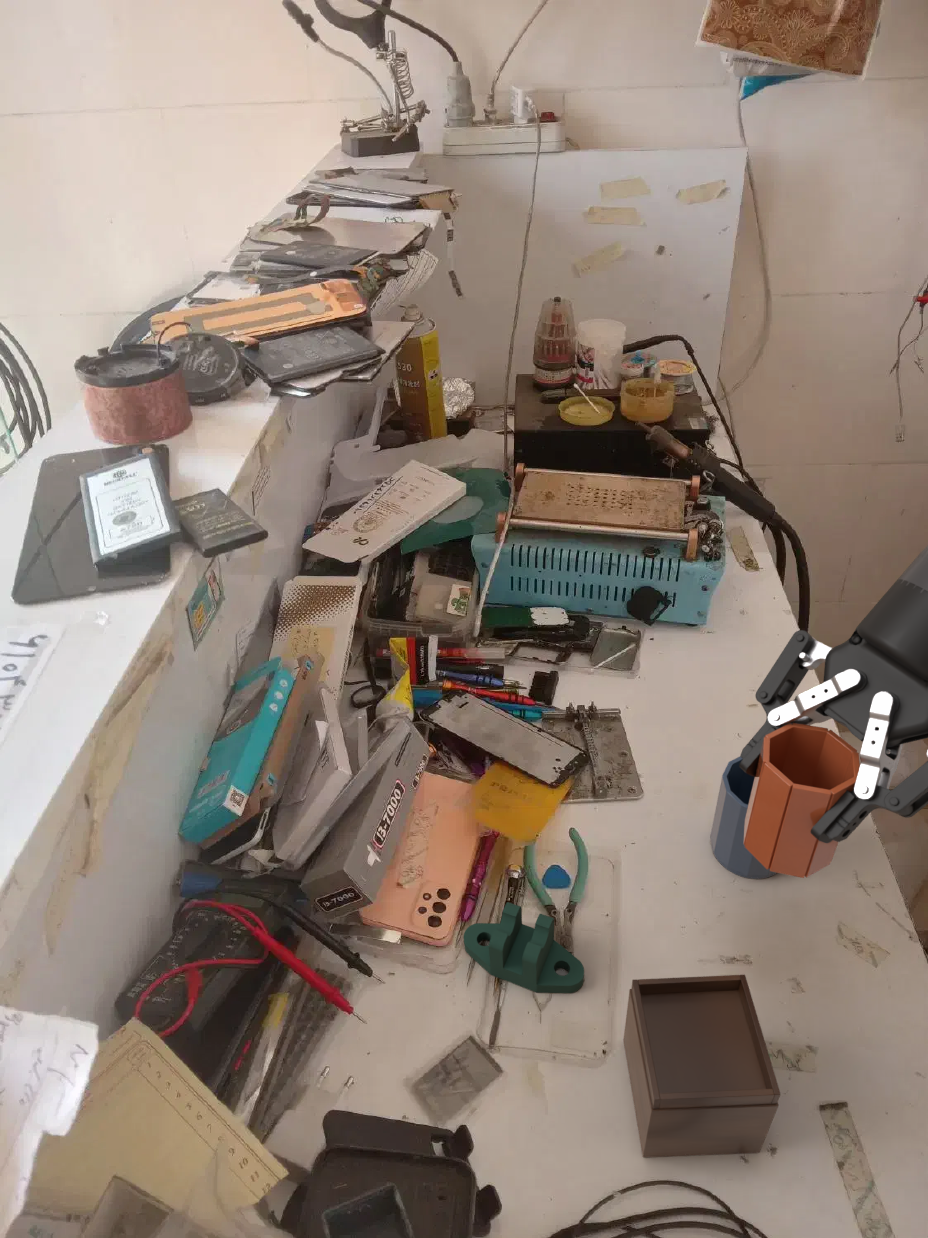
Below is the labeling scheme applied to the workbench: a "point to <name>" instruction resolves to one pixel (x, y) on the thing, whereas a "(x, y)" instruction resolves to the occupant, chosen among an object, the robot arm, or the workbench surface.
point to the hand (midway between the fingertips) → (782, 803)
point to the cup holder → (698, 1066)
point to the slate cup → (734, 824)
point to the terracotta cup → (797, 797)
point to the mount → (524, 953)
